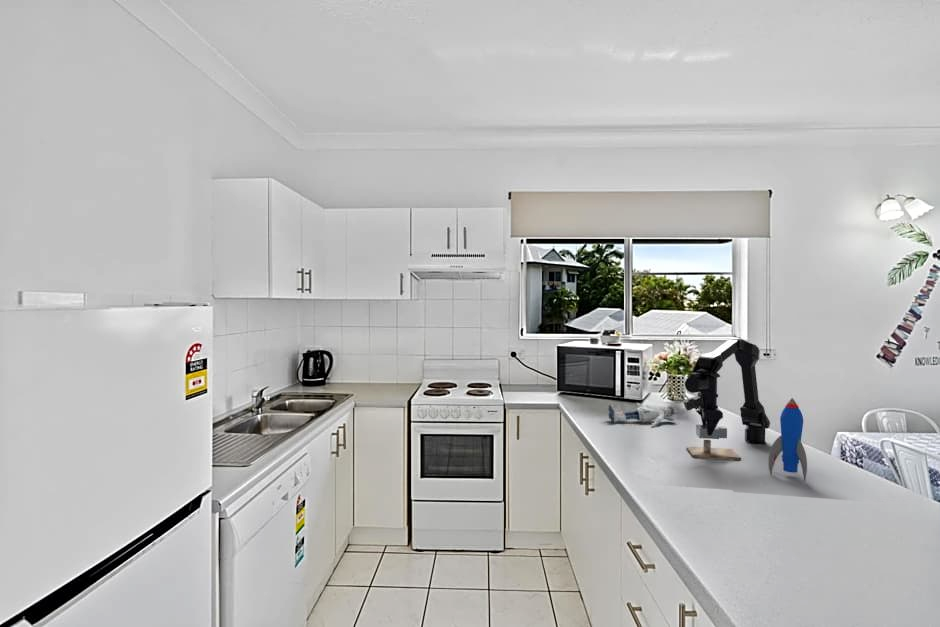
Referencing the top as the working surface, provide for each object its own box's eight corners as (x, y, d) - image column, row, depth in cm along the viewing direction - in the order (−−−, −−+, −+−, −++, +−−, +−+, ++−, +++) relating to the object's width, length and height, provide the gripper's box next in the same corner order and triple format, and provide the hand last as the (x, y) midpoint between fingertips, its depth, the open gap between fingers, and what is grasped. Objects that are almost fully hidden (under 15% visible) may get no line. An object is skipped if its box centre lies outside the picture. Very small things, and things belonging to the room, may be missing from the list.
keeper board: (732, 451, 215) (732, 438, 215) (740, 460, 203) (741, 446, 203) (686, 448, 218) (686, 435, 218) (692, 457, 206) (692, 443, 206)
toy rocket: (807, 482, 180) (809, 401, 179) (773, 479, 181) (775, 400, 181) (795, 472, 190) (797, 395, 189) (763, 469, 192) (765, 394, 191)
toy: (604, 396, 274) (668, 392, 274) (604, 412, 277) (667, 408, 277) (616, 418, 252) (686, 413, 252) (616, 436, 255) (685, 431, 255)
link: (723, 435, 213) (723, 425, 213) (728, 439, 206) (728, 429, 206) (695, 433, 215) (696, 424, 215) (699, 438, 208) (699, 428, 208)
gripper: (680, 385, 221) (679, 426, 221) (689, 393, 203) (688, 438, 203) (711, 386, 219) (710, 428, 219) (723, 394, 201) (722, 440, 201)
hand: (707, 433), depth 211 cm, fingers closed on link, 7 cm apart
